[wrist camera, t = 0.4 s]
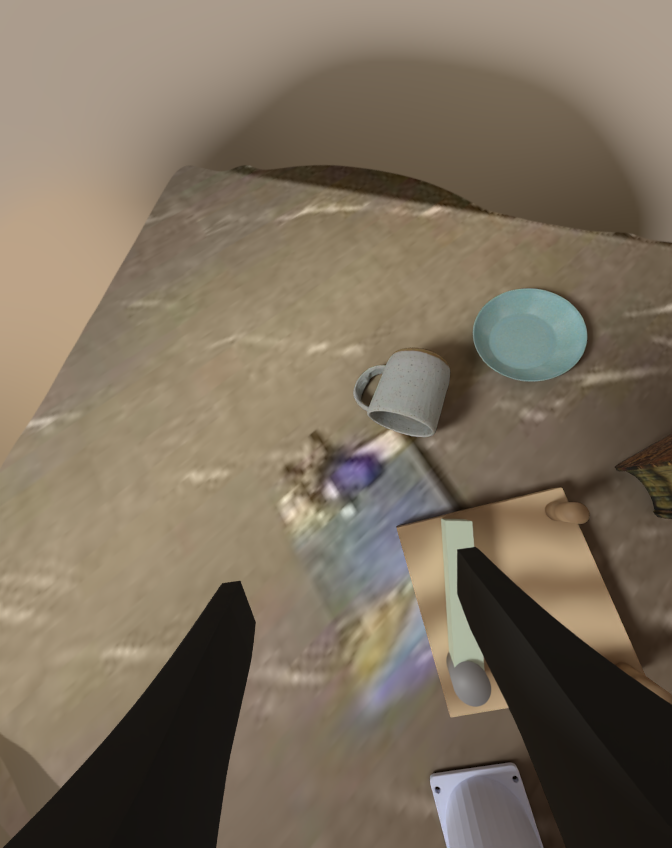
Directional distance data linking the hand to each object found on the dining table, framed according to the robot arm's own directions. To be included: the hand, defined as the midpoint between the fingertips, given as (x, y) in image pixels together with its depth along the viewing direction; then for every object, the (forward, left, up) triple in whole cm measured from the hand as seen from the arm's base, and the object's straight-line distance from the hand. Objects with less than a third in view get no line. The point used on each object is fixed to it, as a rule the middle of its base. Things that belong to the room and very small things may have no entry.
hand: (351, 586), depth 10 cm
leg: (-8, -5, -24) cm, 26 cm away
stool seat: (-9, -10, -26) cm, 29 cm away
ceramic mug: (+14, -6, -26) cm, 30 cm away
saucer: (+17, -22, -27) cm, 38 cm away
